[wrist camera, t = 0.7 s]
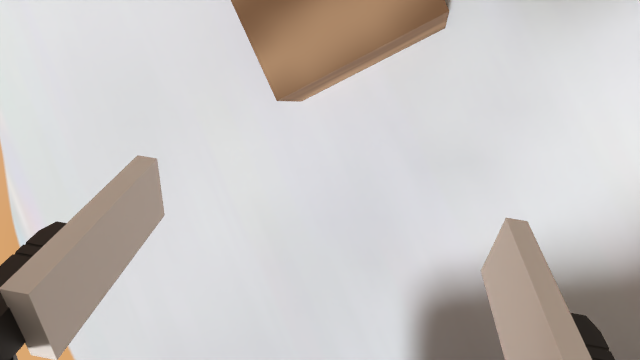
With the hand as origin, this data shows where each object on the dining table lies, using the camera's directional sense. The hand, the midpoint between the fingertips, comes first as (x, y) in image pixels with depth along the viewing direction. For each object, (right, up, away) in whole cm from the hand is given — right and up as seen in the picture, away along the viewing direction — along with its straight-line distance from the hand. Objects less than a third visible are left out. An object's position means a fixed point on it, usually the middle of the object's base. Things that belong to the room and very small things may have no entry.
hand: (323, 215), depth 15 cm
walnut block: (+1, +17, +17) cm, 24 cm away
